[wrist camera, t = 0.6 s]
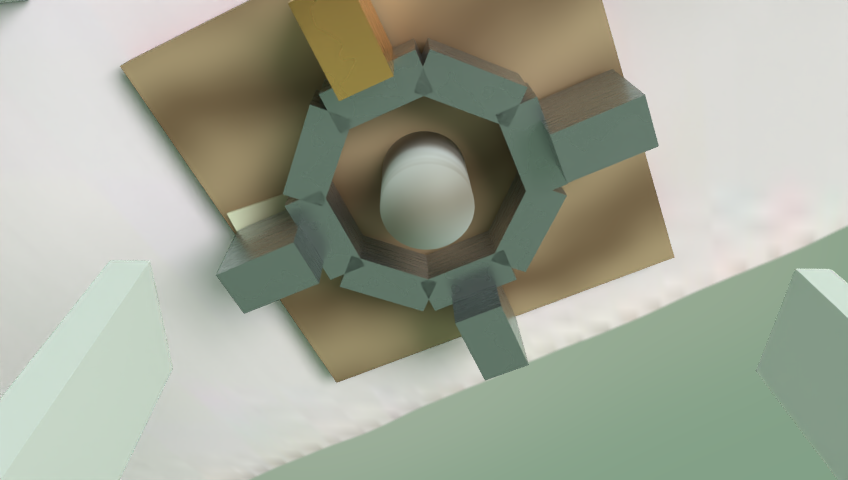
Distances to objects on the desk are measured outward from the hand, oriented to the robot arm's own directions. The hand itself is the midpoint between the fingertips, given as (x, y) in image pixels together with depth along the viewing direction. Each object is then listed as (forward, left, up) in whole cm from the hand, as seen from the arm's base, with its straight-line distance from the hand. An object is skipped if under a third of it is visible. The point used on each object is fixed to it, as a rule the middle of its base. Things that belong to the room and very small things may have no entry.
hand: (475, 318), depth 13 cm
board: (+4, -2, -21) cm, 21 cm away
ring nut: (+4, -2, -19) cm, 20 cm away
